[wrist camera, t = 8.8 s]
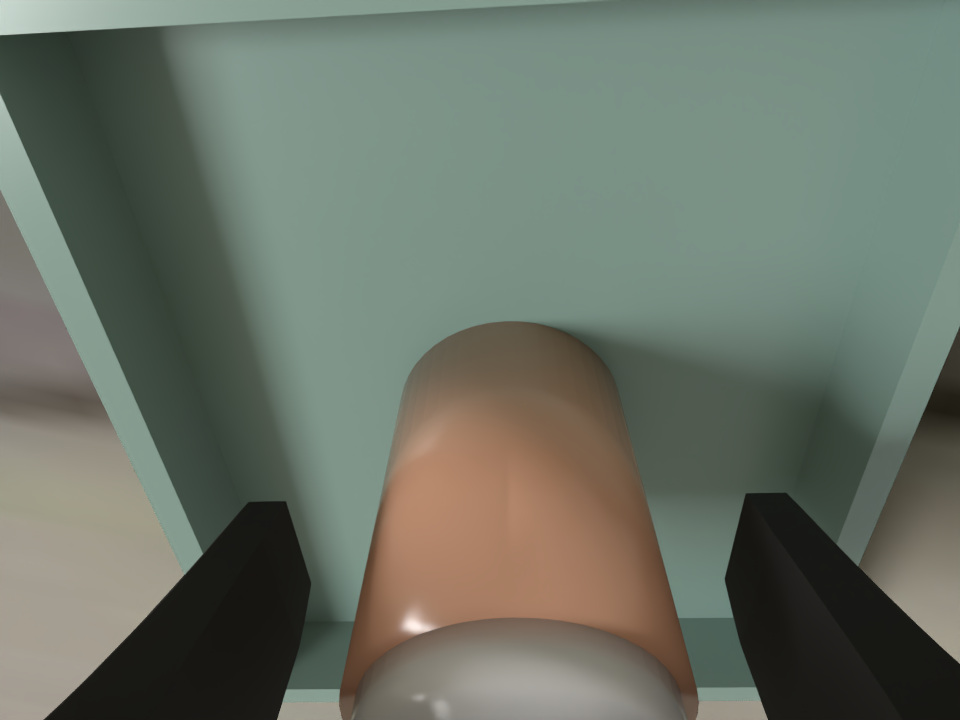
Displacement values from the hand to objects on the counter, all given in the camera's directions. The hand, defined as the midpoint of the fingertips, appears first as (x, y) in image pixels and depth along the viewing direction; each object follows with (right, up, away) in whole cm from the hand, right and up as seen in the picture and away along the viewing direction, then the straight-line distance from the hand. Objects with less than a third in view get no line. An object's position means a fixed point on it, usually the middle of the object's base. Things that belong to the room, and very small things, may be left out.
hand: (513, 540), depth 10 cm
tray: (0, +2, +3) cm, 4 cm away
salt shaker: (0, +2, +3) cm, 4 cm away
